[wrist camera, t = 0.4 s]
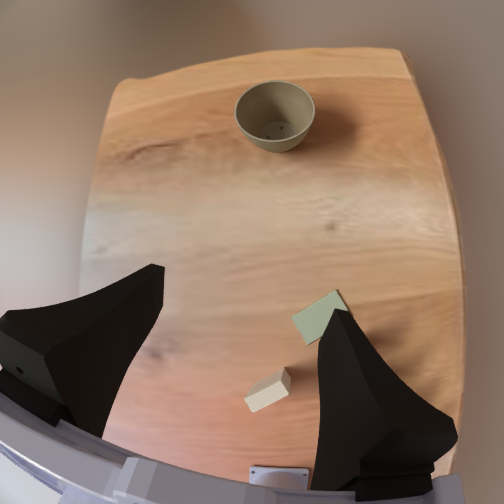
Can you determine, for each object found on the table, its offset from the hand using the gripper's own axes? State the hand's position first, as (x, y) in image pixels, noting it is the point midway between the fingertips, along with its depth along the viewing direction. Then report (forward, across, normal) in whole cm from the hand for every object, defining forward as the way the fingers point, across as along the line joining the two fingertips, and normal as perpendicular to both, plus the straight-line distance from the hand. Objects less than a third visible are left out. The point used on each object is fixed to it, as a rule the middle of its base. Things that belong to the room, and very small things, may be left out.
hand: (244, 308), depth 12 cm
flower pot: (+34, +1, -4) cm, 35 cm away
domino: (+15, -6, +22) cm, 27 cm away
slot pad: (+20, -9, +14) cm, 26 cm away
